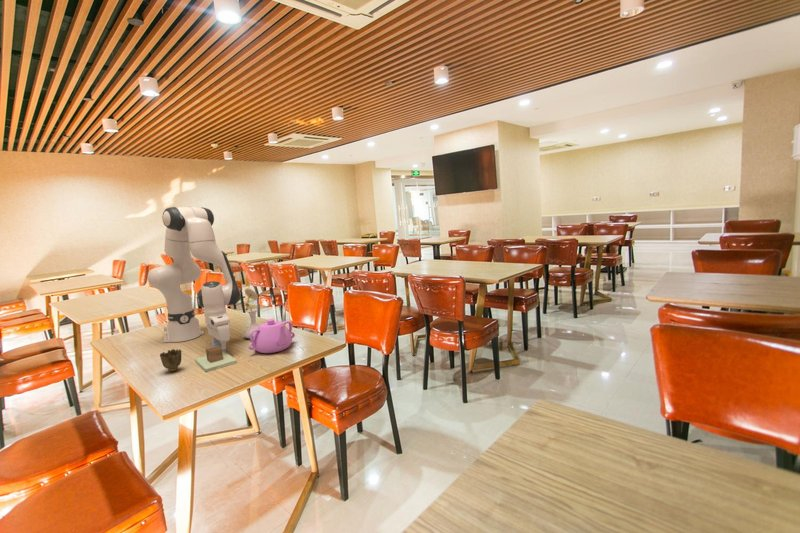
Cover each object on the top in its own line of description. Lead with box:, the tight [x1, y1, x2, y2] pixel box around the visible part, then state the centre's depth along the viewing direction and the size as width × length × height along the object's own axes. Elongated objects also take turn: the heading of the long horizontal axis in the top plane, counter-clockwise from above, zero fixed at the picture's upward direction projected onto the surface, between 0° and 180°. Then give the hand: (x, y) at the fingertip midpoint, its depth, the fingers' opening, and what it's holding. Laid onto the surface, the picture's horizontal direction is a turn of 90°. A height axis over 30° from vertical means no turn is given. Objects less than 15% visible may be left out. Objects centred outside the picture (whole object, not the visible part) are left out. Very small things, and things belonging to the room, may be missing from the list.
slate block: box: [210, 340, 228, 353], centre depth 169 cm, size 5×5×5 cm
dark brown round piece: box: [159, 348, 182, 373], centre depth 150 cm, size 8×7×8 cm
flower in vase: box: [242, 287, 260, 339], centre depth 188 cm, size 13×11×25 cm
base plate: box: [194, 351, 238, 373], centre depth 157 cm, size 16×12×1 cm
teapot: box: [248, 318, 296, 354], centre depth 168 cm, size 22×22×14 cm
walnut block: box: [205, 346, 223, 363], centre depth 157 cm, size 5×5×5 cm
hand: (220, 346), depth 169 cm, fingers open, 8 cm apart
